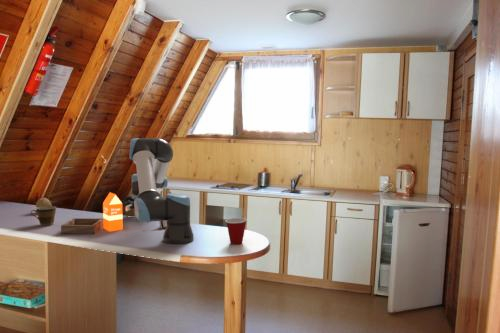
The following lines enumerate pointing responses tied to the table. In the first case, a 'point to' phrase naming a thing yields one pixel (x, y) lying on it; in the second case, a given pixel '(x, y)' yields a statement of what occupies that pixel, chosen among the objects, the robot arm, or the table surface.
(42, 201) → the natural sponge
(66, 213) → the table surface
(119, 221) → the orange juice
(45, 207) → the ceramic cup
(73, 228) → the tray
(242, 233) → the plastic cup
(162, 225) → the hinge
